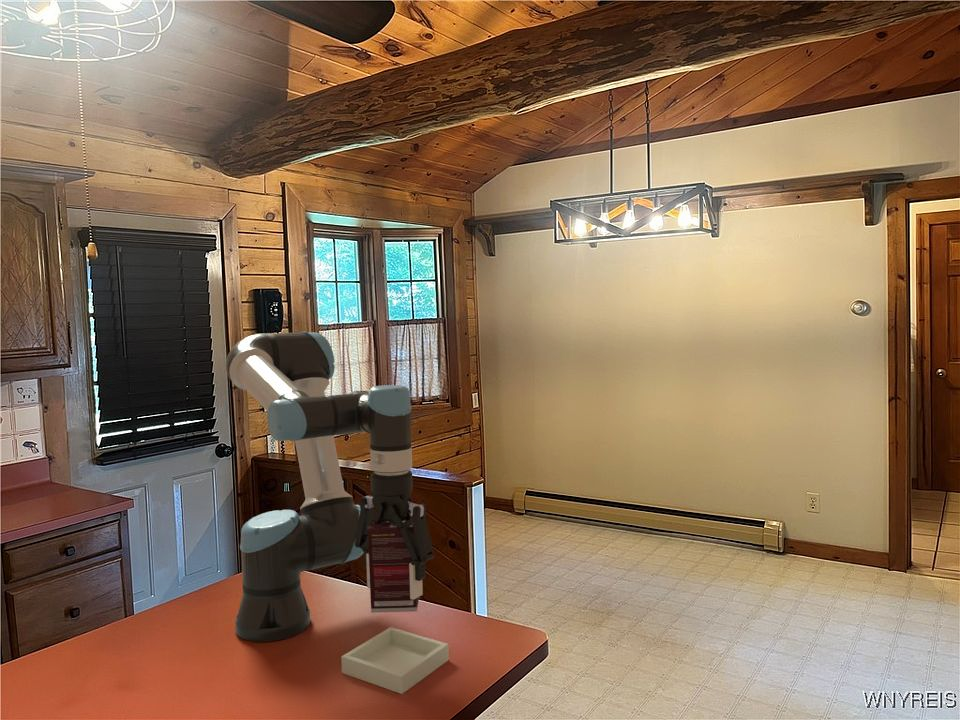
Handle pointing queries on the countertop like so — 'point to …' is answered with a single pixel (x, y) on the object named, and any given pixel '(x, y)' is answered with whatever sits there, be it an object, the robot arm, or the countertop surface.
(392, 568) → the supplement box
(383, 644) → the tray
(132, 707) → the countertop surface
